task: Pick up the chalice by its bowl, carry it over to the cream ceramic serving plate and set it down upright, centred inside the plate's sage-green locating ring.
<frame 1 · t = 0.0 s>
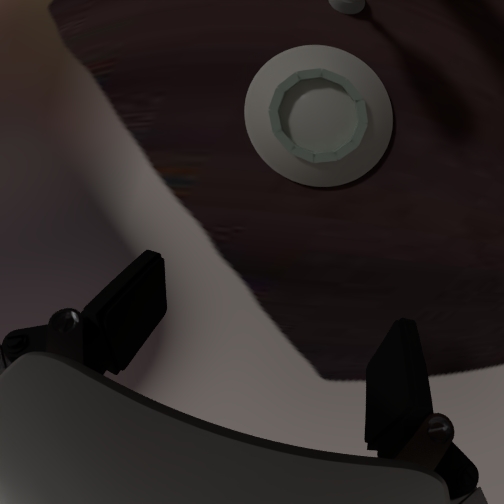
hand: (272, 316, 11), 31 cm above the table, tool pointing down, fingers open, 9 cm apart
chalice: (346, 0, 24), on the table
plate: (318, 115, 34), on the table
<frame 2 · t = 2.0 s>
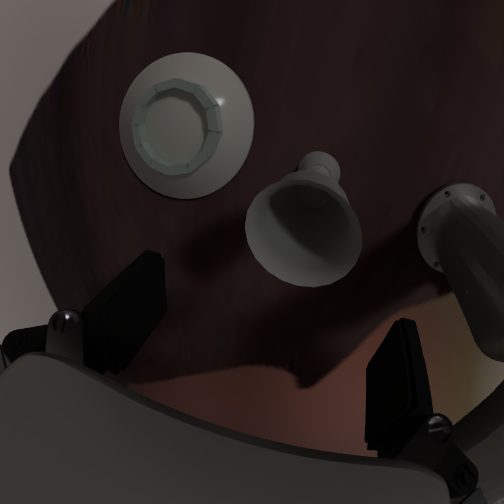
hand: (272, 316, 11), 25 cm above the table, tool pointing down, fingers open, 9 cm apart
chalice: (319, 172, 32), on the table
plate: (180, 125, 33), on the table
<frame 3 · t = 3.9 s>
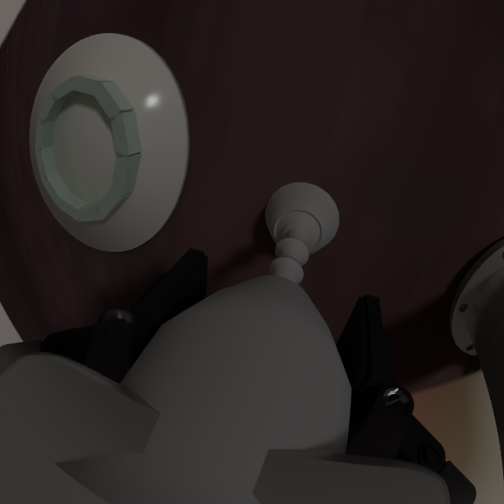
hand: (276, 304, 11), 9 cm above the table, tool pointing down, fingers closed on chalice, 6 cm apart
chalice: (302, 217, 19), on the table, touching gripper
plate: (91, 145, 20), on the table
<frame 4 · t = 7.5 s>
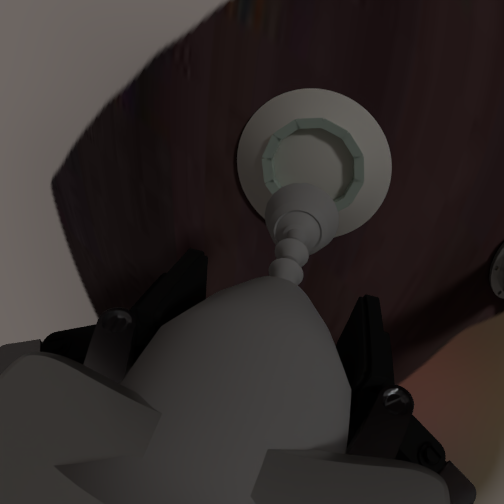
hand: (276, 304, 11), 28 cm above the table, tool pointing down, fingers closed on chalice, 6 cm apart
chalice: (301, 218, 19), point 18 cm above the table, touching gripper
plate: (314, 165, 34), on the table
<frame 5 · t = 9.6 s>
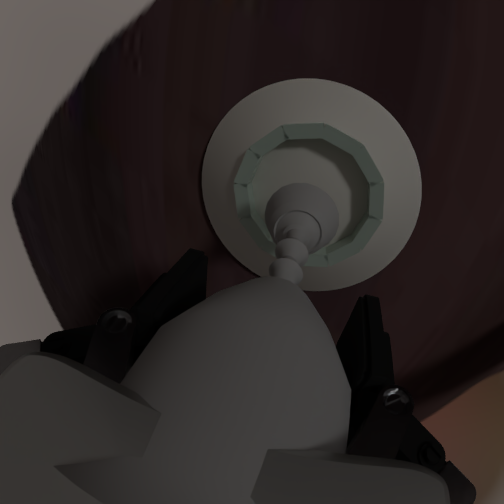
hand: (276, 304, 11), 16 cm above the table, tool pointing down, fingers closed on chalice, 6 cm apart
chalice: (301, 218, 19), point 6 cm above the table, touching gripper
plate: (310, 192, 24), on the table
when the fingers open (11 cm above the table, at t = 11.4 s): chalice drops 1 cm, resting on plate.
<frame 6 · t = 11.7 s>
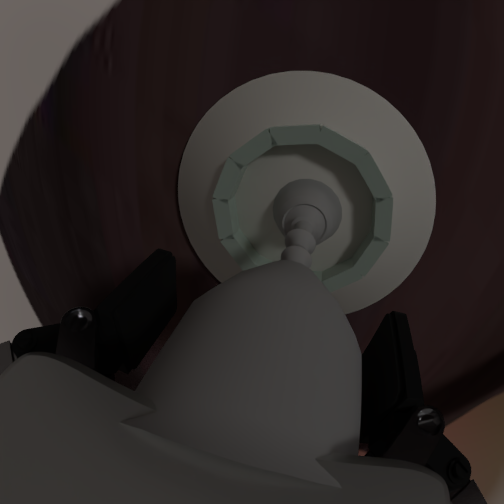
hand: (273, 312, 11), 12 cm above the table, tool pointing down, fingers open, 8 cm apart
chalice: (307, 211, 20), point 1 cm above the table, touching plate
plate: (304, 207, 21), on the table
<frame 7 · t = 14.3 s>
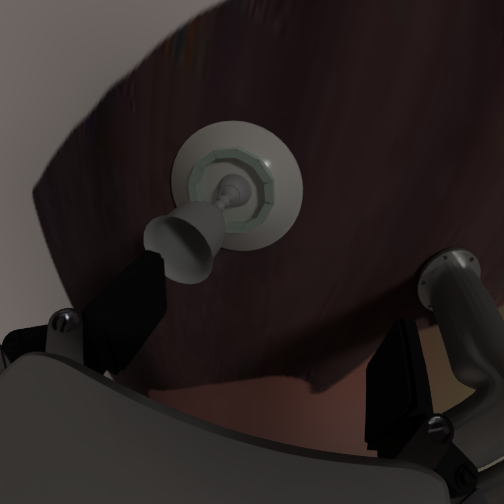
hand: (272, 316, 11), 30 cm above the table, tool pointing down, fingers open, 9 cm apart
chalice: (234, 190, 40), point 1 cm above the table, touching plate
plate: (234, 188, 41), on the table
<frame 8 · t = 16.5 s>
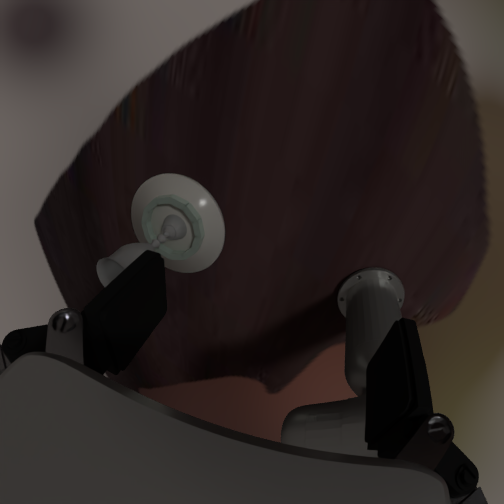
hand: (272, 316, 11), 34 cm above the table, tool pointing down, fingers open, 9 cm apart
chalice: (175, 226, 51), point 1 cm above the table, touching plate
plate: (175, 224, 52), on the table
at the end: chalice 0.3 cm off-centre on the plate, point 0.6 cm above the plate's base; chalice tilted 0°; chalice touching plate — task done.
